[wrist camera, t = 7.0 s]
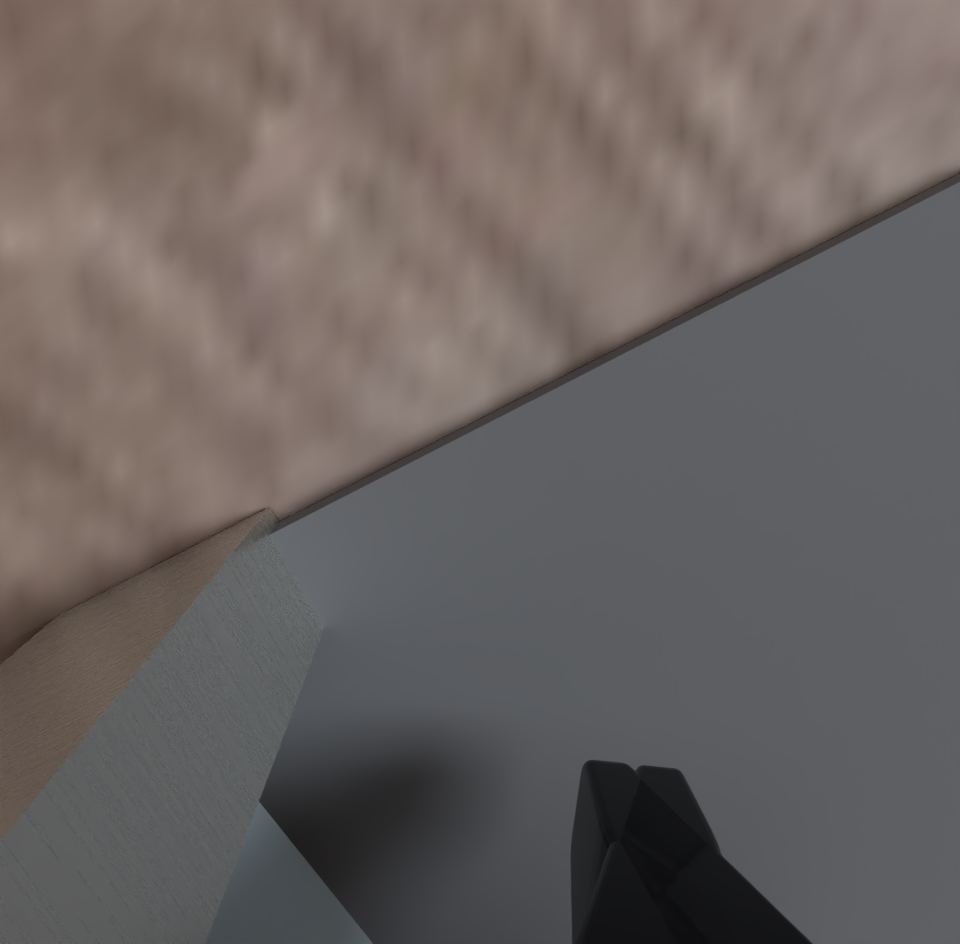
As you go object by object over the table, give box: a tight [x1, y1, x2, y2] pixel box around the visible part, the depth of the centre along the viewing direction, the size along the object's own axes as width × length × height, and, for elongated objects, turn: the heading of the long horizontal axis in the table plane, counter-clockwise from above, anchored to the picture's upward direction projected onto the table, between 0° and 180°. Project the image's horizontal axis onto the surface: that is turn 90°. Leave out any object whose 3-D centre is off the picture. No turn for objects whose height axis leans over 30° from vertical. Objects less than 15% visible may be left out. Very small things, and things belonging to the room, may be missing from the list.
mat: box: [259, 173, 960, 944], centre depth 11 cm, size 13×12×1 cm
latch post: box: [0, 507, 324, 944], centre depth 7 cm, size 2×3×8 cm, turn 117°
